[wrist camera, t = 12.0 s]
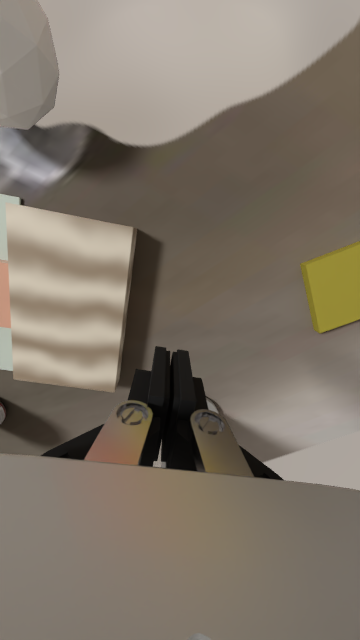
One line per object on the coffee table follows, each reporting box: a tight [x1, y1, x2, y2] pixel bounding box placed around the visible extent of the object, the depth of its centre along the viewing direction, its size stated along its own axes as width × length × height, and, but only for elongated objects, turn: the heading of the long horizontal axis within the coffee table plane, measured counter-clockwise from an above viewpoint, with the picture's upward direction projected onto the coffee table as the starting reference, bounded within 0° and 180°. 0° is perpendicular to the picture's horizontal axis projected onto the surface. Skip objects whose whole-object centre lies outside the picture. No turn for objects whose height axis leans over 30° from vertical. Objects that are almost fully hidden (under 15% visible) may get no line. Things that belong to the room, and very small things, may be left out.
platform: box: [5, 202, 137, 392], centre depth 36 cm, size 26×16×4 cm, turn 170°
